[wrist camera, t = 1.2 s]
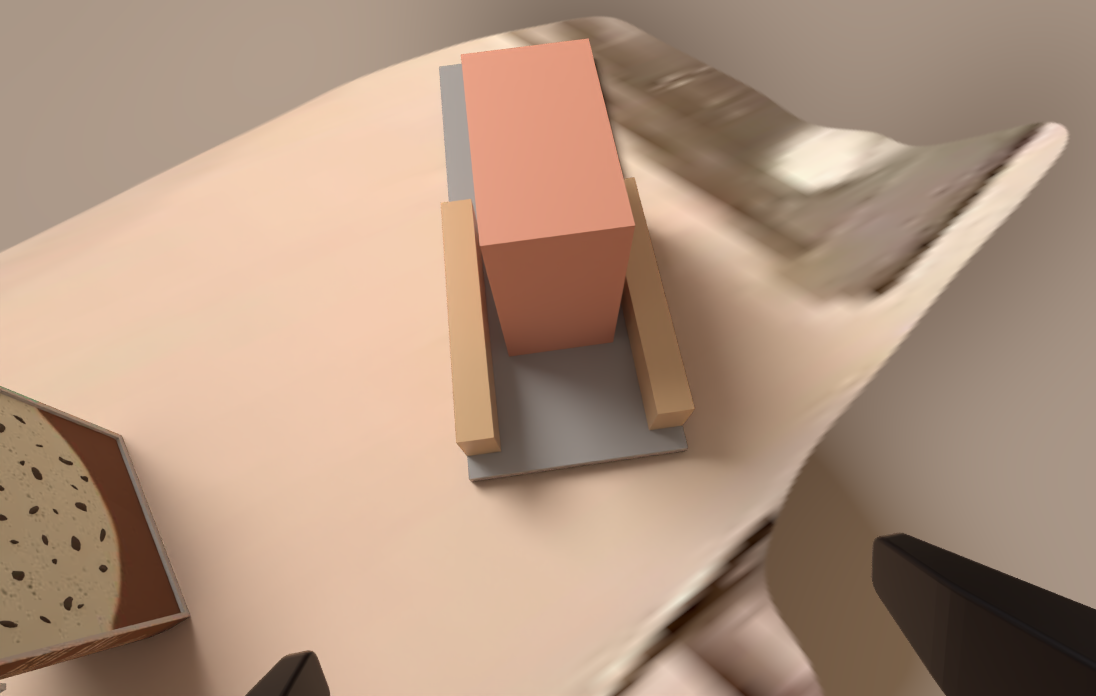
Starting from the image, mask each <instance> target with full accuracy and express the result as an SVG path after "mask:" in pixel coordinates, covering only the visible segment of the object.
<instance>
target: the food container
mask: <svg viewBox="0 0 1096 696" xmlns="http://www.w3.org/2000/svg"><path fill="white" fill-rule="evenodd" d="M188 617H190V614H189V611H188V609H187V606H186V603H185V601H184V598H183V595H182V593H181V590H180V588H179V585H178V582H177V580H176V577H175V575H174V572H173V569H172V567H171V564H170V561H169V559H168V556H167V554H166V551H165V548H164V546H163V543H162V540H161V538H160V535H159V533H158V530H157V527H156V525H155V522H154V519H153V517H152V514H151V512H150V509H149V506H148V504H147V501H146V498H145V496H144V493H143V491H142V488H141V485H140V483H139V480H138V478H137V475H136V472H135V470H134V467H133V464H132V462H131V459H130V457H129V454H128V451H127V449H126V446H125V443H124V441H123V438H122V436H121V435H119V434H117V433H114V432H112V431H109V430H107V429H105V428H102V427H100V426H97V425H95V424H92V423H90V422H87V421H85V420H82V419H80V418H78V417H75V416H73V415H70V414H68V413H65V412H63V411H60V410H58V409H55V408H53V407H51V406H48V405H46V404H43V403H41V402H38V401H36V400H33V399H31V398H28V397H26V396H24V395H21V394H19V393H16V392H14V391H11V390H9V389H6V388H4V387H1V386H0V680H1V679H5V678H8V677H12V676H15V675H19V674H22V673H26V672H29V671H33V670H36V669H40V668H43V667H47V666H50V665H54V664H57V663H61V662H64V661H68V660H71V659H75V658H78V657H82V656H85V655H89V654H92V653H96V652H99V651H103V650H106V649H110V648H113V647H117V646H120V645H124V644H127V643H131V642H134V641H138V640H141V639H145V638H148V637H152V636H154V635H156V634H159V633H161V632H163V631H165V630H168V629H170V628H172V627H173V626H175V625H177V624H178V623H180V622H182V621H183V620H185V619H187V618H188ZM4 690H6V684H2V683H0V693H1V692H3V691H4Z"/></svg>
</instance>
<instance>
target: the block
mask: <svg viewBox="0 0 1096 696" xmlns="http://www.w3.org/2000/svg"><path fill="white" fill-rule="evenodd" d="M461 61H462V71H463V81H464V91H465V102H466V112H467V122H468V132H469V142H470V152H471V162H472V173H473V183H474V193H475V203H476V213H477V223H478V233H479V244H480V249H481V253H482V256H483V260H484V264H485V268H486V272H487V275H488V279H489V283H490V287H491V290H492V294H493V298H494V302H495V305H496V309H497V313H498V317H499V321H500V324H501V328H502V332H503V336H504V339H505V343H506V347H507V351H508V354H509V357H510V356H517V355H524V354H532V353H539V352H546V351H553V350H560V349H568V348H575V347H582V346H589V345H596V344H604V343H611V342H613V339H614V334H615V329H616V324H617V318H618V313H619V308H620V303H621V297H622V292H623V287H624V282H625V276H626V271H627V266H628V261H629V255H630V250H631V245H632V240H633V234H634V229H635V223H634V219H633V215H632V211H631V207H630V203H629V199H628V195H627V191H626V187H625V183H624V179H623V175H622V171H621V167H620V163H619V159H618V155H617V151H616V147H615V143H614V139H613V135H612V131H611V127H610V123H609V119H608V115H607V111H606V107H605V103H604V99H603V95H602V91H601V87H600V83H599V79H598V75H597V71H596V67H595V63H594V59H593V55H592V51H591V47H590V43H589V39H581V40H573V41H565V42H557V43H549V44H541V45H533V46H525V47H517V48H509V49H501V50H493V51H485V52H477V53H469V54H461Z"/></svg>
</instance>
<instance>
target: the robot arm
mask: <svg viewBox="0 0 1096 696" xmlns="http://www.w3.org/2000/svg"><path fill="white" fill-rule="evenodd" d="M872 582H873V586H874V588H875V590H876V593H877V594H878V596H879V598H880V599H881V601H882V602H883V604H884V605H885V606H886V608H887V609H888V611H889V613H890V614H891V616H892V617H893V619H894V620H895V622H896V623H897V625H898V626H899V627H900V629H901V631H902V632H903V634H904V635H905V637H906V638H907V640H908V641H909V643H910V644H911V646H912V647H913V649H914V650H915V652H916V653H917V655H918V656H919V657H920V659H921V661H922V662H923V664H924V665H925V666H926V668H927V670H928V671H929V673H930V674H931V676H932V677H933V678H934V680H935V681H936V683H937V684H938V685H939V687H940V688H941V690H942V691H943V692H944V694H945V695H946V696H1096V609H1093V608H1091V607H1088V606H1086V605H1083V604H1081V603H1078V602H1075V601H1073V600H1071V599H1068V598H1065V597H1063V596H1060V595H1058V594H1056V593H1053V592H1051V591H1048V590H1045V589H1043V588H1040V587H1038V586H1035V585H1033V584H1030V583H1028V582H1025V581H1023V580H1020V579H1018V578H1015V577H1013V576H1010V575H1008V574H1005V573H1002V572H1000V571H998V570H995V569H992V568H990V567H987V566H985V565H983V564H980V563H978V562H975V561H972V560H970V559H967V558H965V557H962V556H960V555H957V554H955V553H952V552H950V551H947V550H945V549H942V548H940V547H937V546H935V545H932V544H929V543H927V542H925V541H922V540H920V539H917V538H915V537H912V536H910V535H907V534H904V533H893V534H888V535H883V536H879V537H877V538H875V540H874V542H873V552H872ZM245 696H330V690H329V687H328V684H327V681H326V679H325V676H324V673H323V671H322V668H321V665H320V663H319V660H318V657H317V656H316V654H315V653H314V652H313V651H303V652H298V653H293V654H289V655H286V656H284V657H283V658H282V659H281V660H280V661H279V662H278V663H277V664H276V665H275V666H274V667H273V668H272V669H271V670H270V671H269V672H268V673H267V674H266V675H265V676H264V677H263V678H262V679H261V680H260V681H259V682H258V683H257V684H256V685H255V686H254V687H253V688H252V689H251V690H250V691H249V692H248V693H247V694H246V695H245Z"/></svg>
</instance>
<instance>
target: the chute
mask: <svg viewBox="0 0 1096 696" xmlns="http://www.w3.org/2000/svg"><path fill="white" fill-rule="evenodd" d="M439 72H440V86H441V99H442V113H443V127H444V141H445V155H446V168H447V182H448V196H449V202H443V203H441V214H442V230H443V245H444V261H445V276H446V292H447V307H448V323H449V338H450V354H451V369H452V385H453V400H454V416H455V431H456V443H457V444H458V446H459V447H460V448H461V449H462V450H463V452H464V453H465V454H466V455H467V458H468V472H469V480H470V481H471V482H472V481H479V480H486V479H493V478H500V477H507V476H514V475H521V474H528V473H534V472H541V471H548V470H555V469H562V468H569V467H576V466H583V465H590V464H597V463H604V462H611V461H618V460H625V459H632V458H639V457H646V456H653V455H660V454H667V453H673V452H680V451H685V450H686V449H687V448H688V446H687V442H686V438H685V434H684V430H683V426H682V425H683V424H684V423H685V421H686V420H687V419H688V417H689V416H690V415H691V413H692V412H693V411H694V409H695V407H694V403H693V399H692V396H691V392H690V388H689V384H688V380H687V376H686V373H685V369H684V365H683V361H682V357H681V354H680V350H679V346H678V342H677V338H676V334H675V331H674V327H673V323H672V319H671V315H670V312H669V308H668V304H667V300H666V296H665V292H664V289H663V285H662V281H661V277H660V273H659V269H658V266H657V262H656V258H655V254H654V250H653V247H652V243H651V239H650V235H649V231H648V227H647V224H646V220H645V216H644V212H643V208H642V205H641V201H640V197H639V193H638V189H637V185H636V182H635V178H634V177H633V178H626V179H624V183H625V187H626V191H627V195H628V199H629V203H630V207H631V211H632V215H633V219H634V223H635V229H634V234H633V240H632V245H631V250H630V255H629V261H628V266H627V271H626V276H625V282H624V287H623V292H622V297H621V303H620V308H619V313H618V318H617V324H616V329H615V334H614V339H613V342H611V343H604V344H596V345H589V346H582V347H575V348H568V349H560V350H553V351H546V352H539V353H532V354H524V355H517V356H510V357H509V354H508V351H507V347H506V343H505V339H504V336H503V332H502V328H501V324H500V321H499V317H498V313H497V309H496V305H495V302H494V298H493V294H492V290H491V287H490V283H489V279H488V275H487V272H486V268H485V264H484V260H483V256H482V253H481V249H480V244H479V233H478V223H477V213H476V203H475V193H474V183H473V173H472V162H471V152H470V142H469V132H468V122H467V112H466V102H465V91H464V81H463V71H462V64H457V65H449V66H441V67H439Z"/></svg>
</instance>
